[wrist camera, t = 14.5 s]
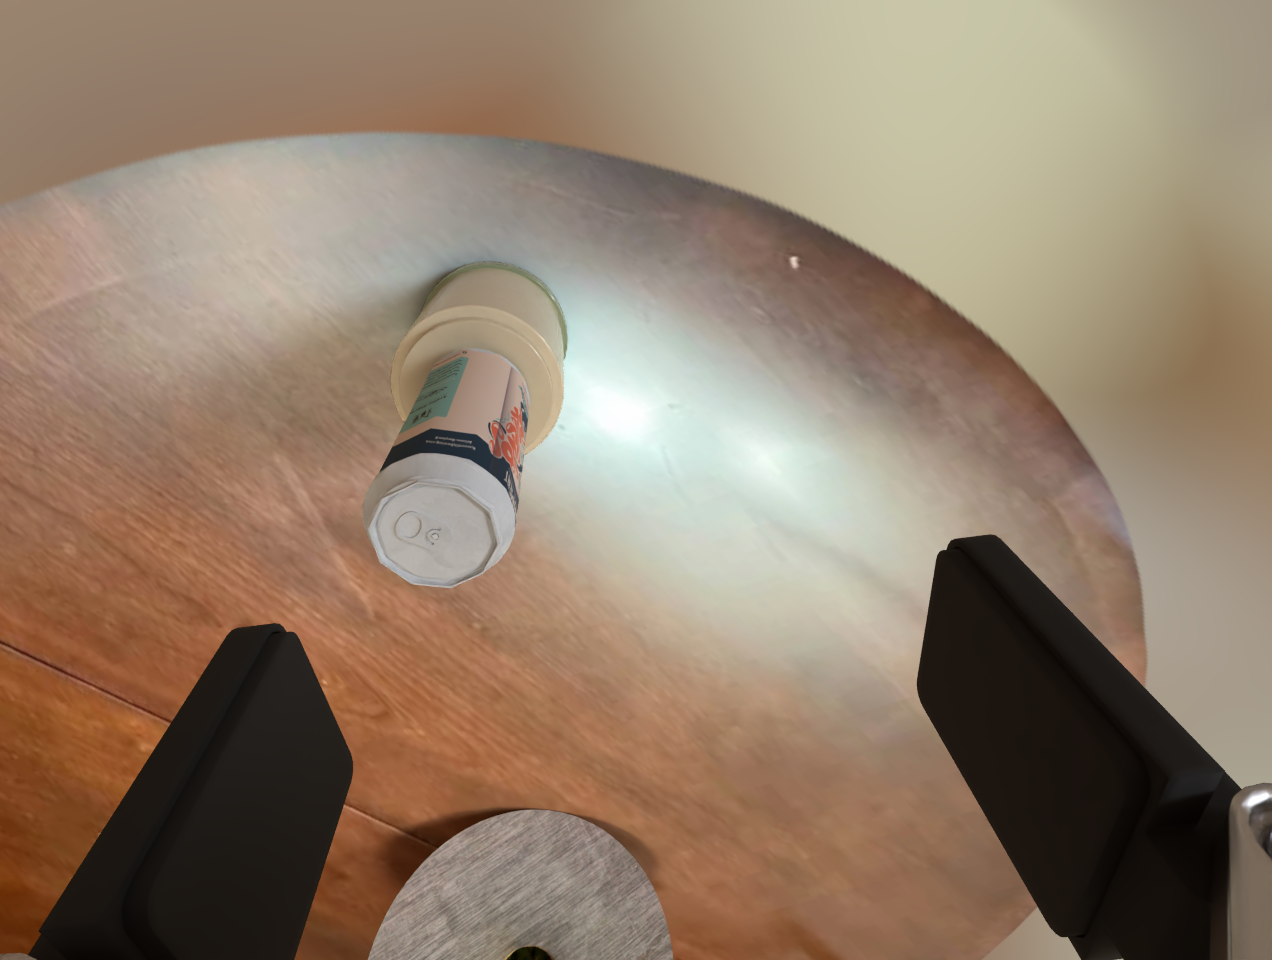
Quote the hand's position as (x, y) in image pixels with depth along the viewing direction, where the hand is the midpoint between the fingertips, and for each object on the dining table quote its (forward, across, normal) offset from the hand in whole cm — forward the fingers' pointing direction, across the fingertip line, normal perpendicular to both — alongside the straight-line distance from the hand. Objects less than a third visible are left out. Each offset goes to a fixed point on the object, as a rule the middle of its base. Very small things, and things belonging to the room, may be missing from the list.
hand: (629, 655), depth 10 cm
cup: (+32, +6, +4) cm, 33 cm away
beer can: (+23, +6, +4) cm, 24 cm away
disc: (+31, +13, +56) cm, 66 cm away
